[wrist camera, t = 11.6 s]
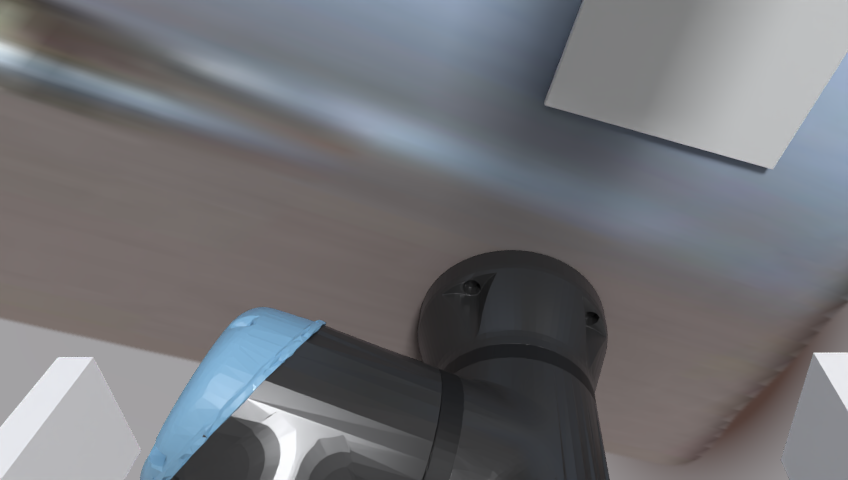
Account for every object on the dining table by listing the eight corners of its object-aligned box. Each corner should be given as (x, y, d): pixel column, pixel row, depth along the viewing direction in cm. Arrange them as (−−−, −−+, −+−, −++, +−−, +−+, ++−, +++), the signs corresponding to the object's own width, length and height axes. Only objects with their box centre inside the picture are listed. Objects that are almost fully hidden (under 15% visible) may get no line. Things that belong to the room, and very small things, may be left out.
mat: (769, 165, 43) (772, 169, 43) (544, 101, 42) (544, 105, 42) (930, -91, 34) (936, -89, 34) (649, -178, 34) (652, -178, 33)
